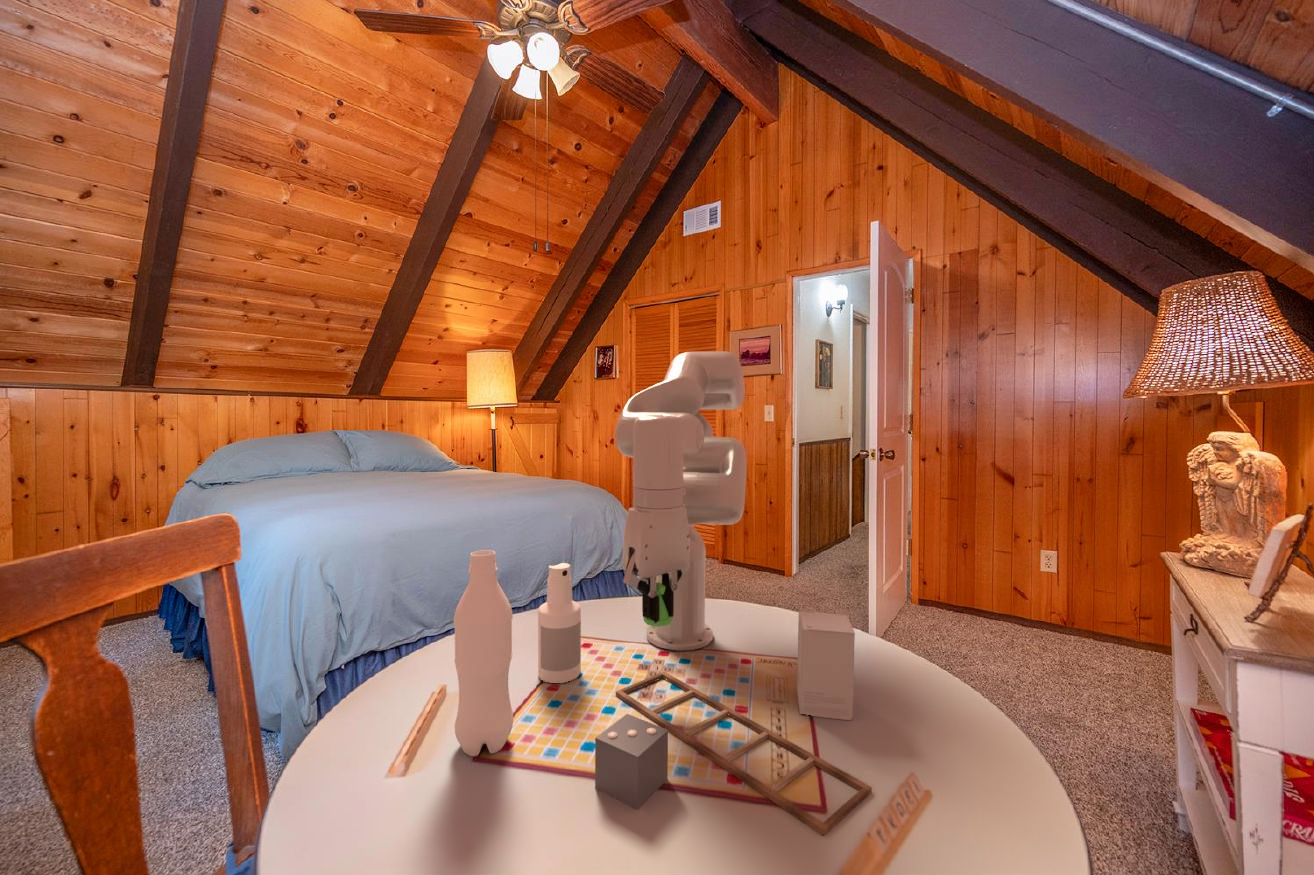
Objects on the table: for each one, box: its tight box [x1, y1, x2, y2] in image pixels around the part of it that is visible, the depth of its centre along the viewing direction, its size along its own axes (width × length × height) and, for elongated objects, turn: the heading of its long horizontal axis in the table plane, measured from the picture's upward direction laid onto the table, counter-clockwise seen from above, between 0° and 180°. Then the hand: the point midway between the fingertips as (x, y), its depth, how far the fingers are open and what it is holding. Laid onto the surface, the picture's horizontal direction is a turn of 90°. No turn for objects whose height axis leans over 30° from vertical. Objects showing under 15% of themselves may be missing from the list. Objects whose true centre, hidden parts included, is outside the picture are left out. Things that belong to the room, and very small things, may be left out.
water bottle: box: [453, 549, 514, 757], centre depth 69 cm, size 7×7×25 cm
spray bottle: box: [537, 562, 582, 684], centre depth 88 cm, size 7×7×18 cm
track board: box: [615, 671, 873, 837], centre depth 72 cm, size 36×10×1 cm, turn 41°
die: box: [594, 713, 669, 811], centre depth 63 cm, size 6×6×6 cm
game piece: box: [643, 582, 672, 627], centre depth 82 cm, size 4×4×6 cm
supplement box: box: [796, 611, 856, 721], centre depth 80 cm, size 7×7×13 cm
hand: (658, 616), depth 83 cm, fingers closed on game piece, 2 cm apart
